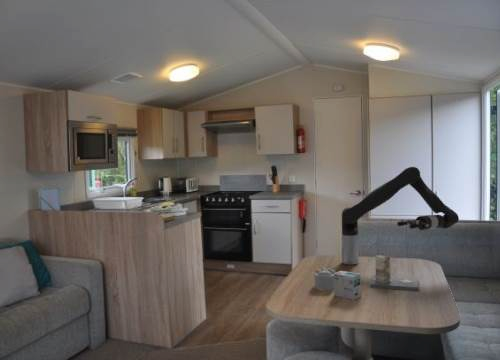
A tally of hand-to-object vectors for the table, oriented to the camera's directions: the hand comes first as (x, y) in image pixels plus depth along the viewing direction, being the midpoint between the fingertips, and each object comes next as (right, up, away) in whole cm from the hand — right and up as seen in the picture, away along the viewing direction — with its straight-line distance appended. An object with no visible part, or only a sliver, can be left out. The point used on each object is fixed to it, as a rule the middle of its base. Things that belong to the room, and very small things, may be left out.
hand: (403, 225), depth 223 cm
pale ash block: (-13, -27, -7) cm, 30 cm away
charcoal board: (-8, -29, -8) cm, 31 cm away
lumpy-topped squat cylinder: (-42, -30, -9) cm, 52 cm away
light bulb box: (-35, -31, -24) cm, 52 cm away
